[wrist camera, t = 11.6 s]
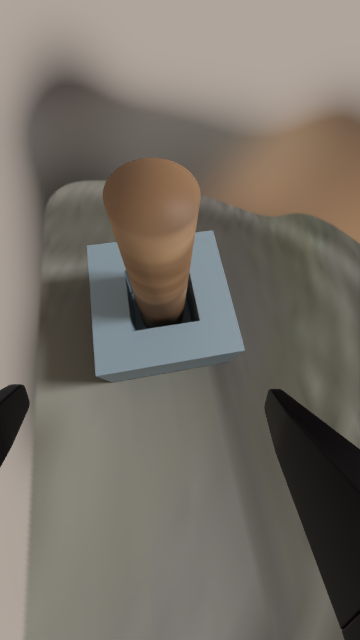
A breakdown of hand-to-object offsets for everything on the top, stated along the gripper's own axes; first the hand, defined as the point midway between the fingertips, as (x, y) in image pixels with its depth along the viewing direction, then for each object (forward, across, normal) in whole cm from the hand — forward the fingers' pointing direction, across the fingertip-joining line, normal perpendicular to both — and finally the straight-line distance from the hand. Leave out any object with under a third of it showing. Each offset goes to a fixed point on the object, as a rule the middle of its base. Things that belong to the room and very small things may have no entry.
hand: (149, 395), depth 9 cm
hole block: (+13, 0, +3) cm, 14 cm away
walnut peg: (+12, 0, +2) cm, 13 cm away
